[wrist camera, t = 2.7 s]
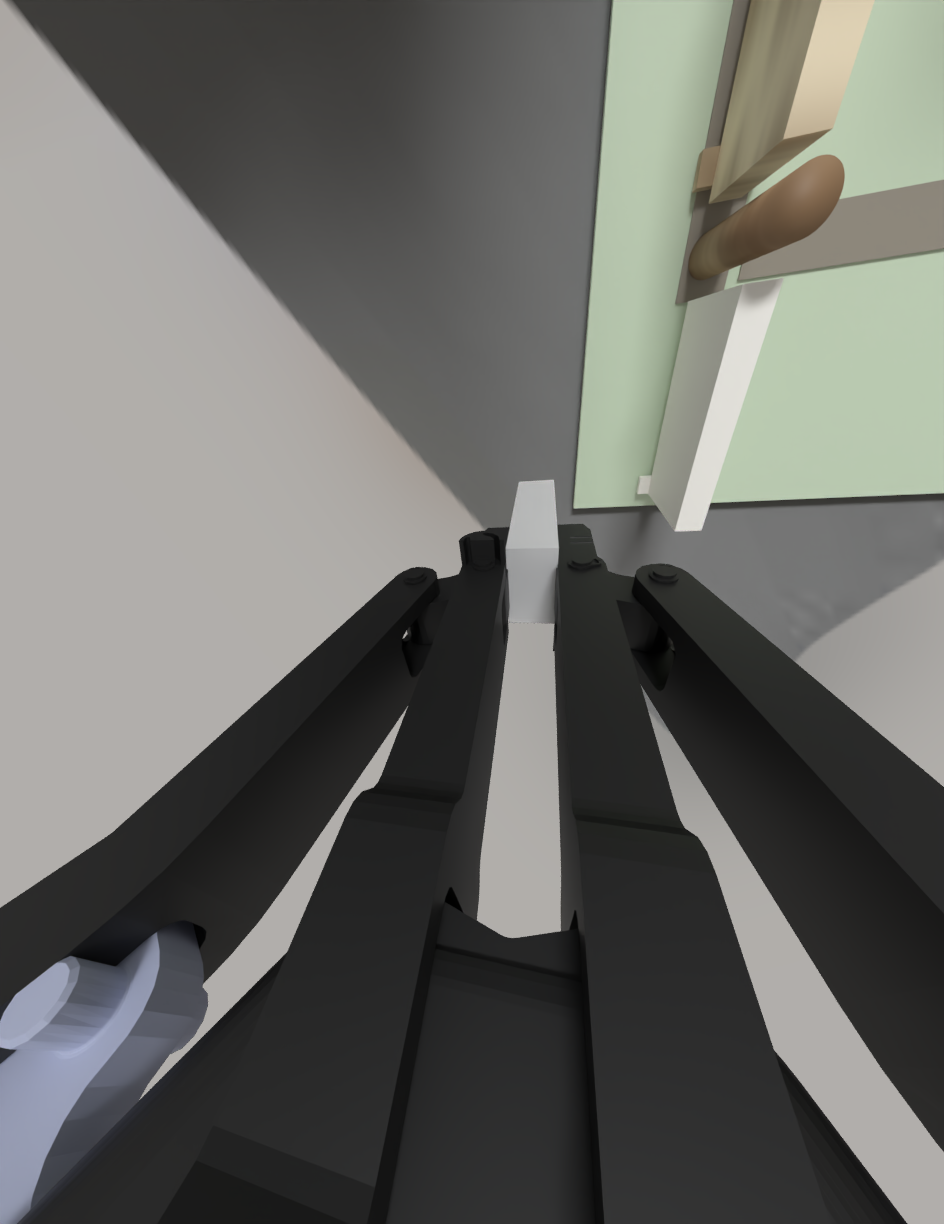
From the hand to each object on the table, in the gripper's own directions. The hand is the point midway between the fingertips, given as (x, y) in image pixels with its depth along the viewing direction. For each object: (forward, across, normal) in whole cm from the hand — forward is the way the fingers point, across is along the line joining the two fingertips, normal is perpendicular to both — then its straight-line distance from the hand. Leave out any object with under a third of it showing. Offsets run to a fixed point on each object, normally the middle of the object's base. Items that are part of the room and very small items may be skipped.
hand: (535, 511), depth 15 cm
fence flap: (+8, +7, +2) cm, 11 cm away
